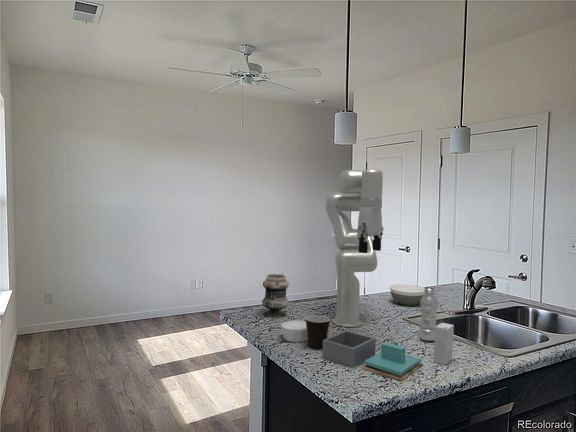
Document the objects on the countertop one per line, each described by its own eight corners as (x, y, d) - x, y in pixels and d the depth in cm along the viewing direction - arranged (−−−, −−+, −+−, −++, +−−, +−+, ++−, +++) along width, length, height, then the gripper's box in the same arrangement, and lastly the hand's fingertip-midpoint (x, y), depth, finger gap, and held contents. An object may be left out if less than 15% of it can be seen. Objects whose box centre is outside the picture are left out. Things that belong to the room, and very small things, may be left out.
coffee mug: (322, 352, 143) (322, 323, 143) (300, 347, 147) (301, 319, 147) (336, 343, 153) (337, 316, 152) (316, 338, 157) (316, 312, 157)
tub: (345, 346, 149) (345, 330, 148) (375, 355, 141) (375, 338, 141) (322, 357, 138) (322, 340, 138) (353, 367, 130) (353, 349, 130)
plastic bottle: (436, 338, 160) (438, 287, 159) (437, 344, 153) (438, 290, 153) (419, 336, 162) (420, 285, 161) (418, 342, 155) (420, 289, 155)
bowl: (432, 308, 204) (432, 292, 204) (393, 308, 204) (394, 291, 204) (420, 299, 223) (420, 284, 222) (385, 299, 223) (385, 283, 223)
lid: (386, 354, 141) (386, 335, 141) (421, 364, 133) (421, 344, 132) (363, 366, 130) (364, 346, 130) (400, 378, 122) (401, 357, 122)
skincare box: (439, 357, 141) (440, 321, 140) (453, 360, 138) (454, 324, 137) (432, 362, 136) (434, 325, 136) (446, 366, 133) (447, 328, 133)
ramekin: (276, 340, 154) (276, 326, 154) (287, 332, 165) (287, 318, 164) (304, 345, 150) (305, 330, 150) (314, 336, 160) (314, 322, 160)
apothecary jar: (279, 320, 180) (280, 279, 180) (256, 315, 186) (257, 276, 186) (293, 313, 191) (293, 274, 190) (271, 309, 197) (271, 272, 196)
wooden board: (386, 355, 142) (386, 353, 142) (423, 365, 133) (423, 363, 133) (362, 369, 129) (362, 367, 129) (400, 381, 121) (401, 379, 121)
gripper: (373, 204, 158) (372, 248, 158) (349, 203, 145) (348, 252, 145) (392, 204, 153) (390, 250, 154) (368, 204, 140) (367, 254, 140)
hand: (370, 251), depth 149 cm, fingers open, 9 cm apart
